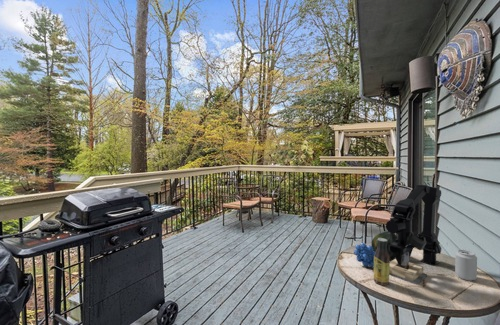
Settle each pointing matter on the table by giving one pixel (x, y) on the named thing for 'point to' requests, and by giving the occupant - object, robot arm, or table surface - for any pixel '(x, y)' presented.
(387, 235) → the squash
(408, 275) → the socket
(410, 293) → the table surface
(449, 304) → the table surface
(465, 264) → the can
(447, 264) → the table surface
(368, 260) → the grapes
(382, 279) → the sauce bottle
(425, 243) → the robot arm
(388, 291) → the table surface
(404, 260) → the peg
